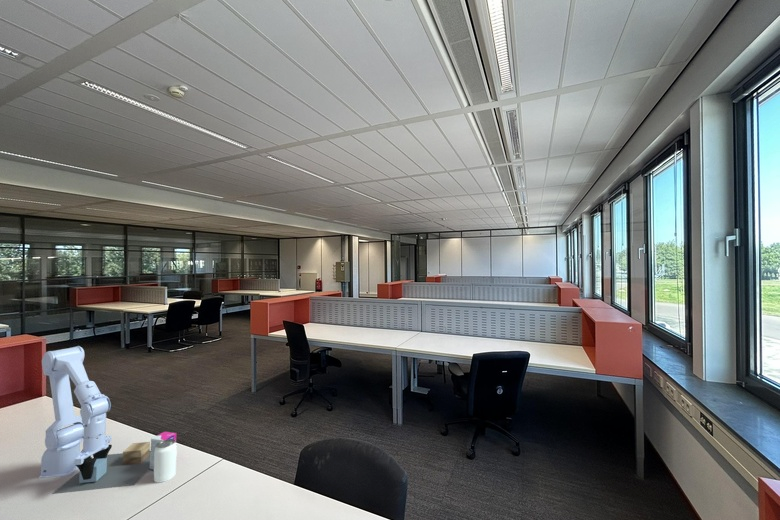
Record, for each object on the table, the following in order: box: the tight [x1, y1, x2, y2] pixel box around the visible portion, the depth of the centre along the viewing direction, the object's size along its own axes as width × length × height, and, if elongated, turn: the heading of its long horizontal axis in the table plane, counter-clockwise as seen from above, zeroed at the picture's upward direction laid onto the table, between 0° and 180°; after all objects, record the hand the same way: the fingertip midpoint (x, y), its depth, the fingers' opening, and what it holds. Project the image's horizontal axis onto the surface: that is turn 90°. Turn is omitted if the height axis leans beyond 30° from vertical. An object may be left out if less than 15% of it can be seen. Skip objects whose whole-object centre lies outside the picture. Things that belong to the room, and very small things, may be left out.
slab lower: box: [123, 448, 151, 465], centre depth 122 cm, size 6×6×2 cm
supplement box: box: [149, 431, 177, 471], centre depth 118 cm, size 6×6×12 cm
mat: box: [51, 452, 150, 495], centre depth 116 cm, size 24×22×1 cm
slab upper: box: [122, 441, 151, 459], centre depth 122 cm, size 6×6×2 cm
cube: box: [79, 458, 107, 483], centre depth 111 cm, size 5×5×5 cm
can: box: [153, 439, 178, 483], centre depth 112 cm, size 6×6×12 cm
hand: (93, 473), depth 111 cm, fingers closed on cube, 5 cm apart
